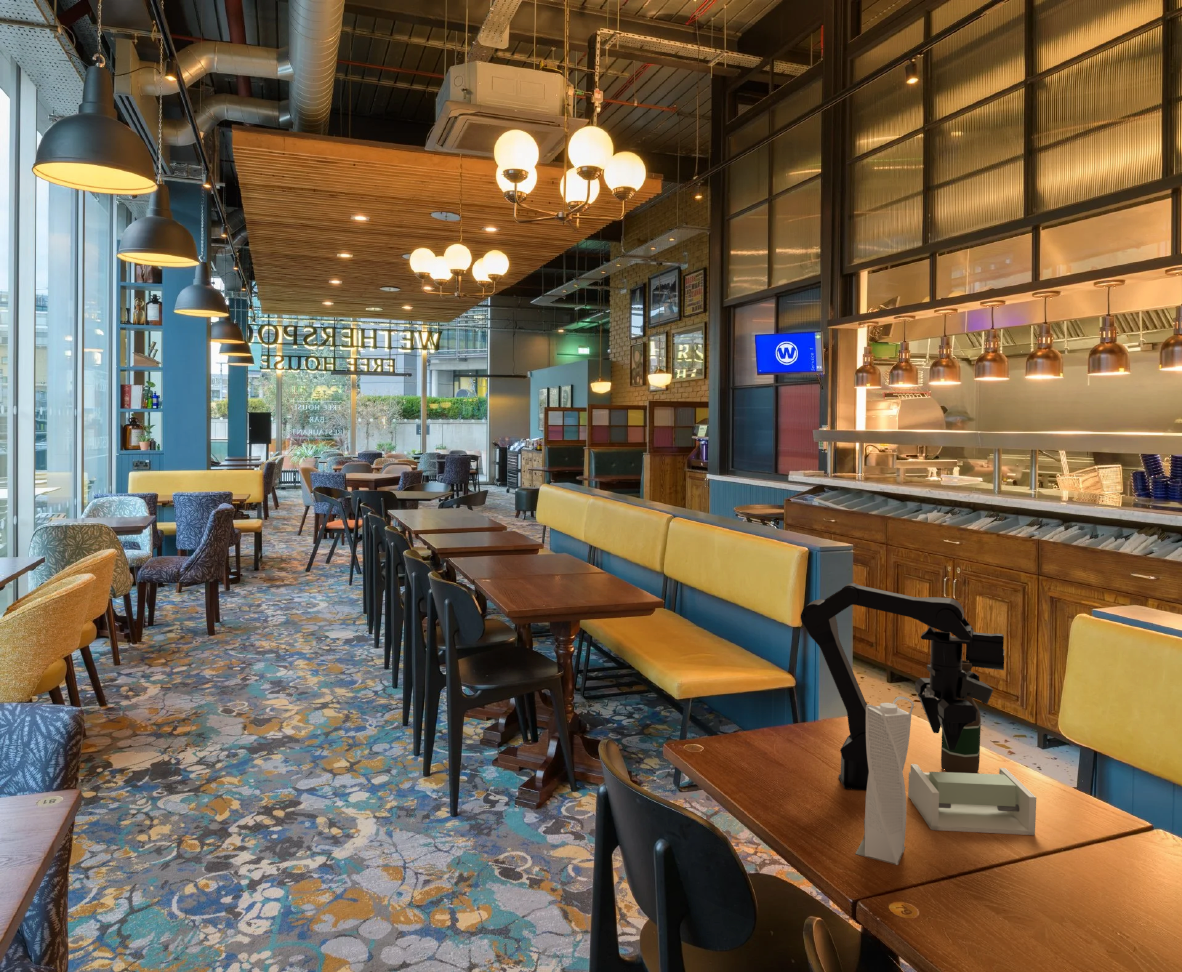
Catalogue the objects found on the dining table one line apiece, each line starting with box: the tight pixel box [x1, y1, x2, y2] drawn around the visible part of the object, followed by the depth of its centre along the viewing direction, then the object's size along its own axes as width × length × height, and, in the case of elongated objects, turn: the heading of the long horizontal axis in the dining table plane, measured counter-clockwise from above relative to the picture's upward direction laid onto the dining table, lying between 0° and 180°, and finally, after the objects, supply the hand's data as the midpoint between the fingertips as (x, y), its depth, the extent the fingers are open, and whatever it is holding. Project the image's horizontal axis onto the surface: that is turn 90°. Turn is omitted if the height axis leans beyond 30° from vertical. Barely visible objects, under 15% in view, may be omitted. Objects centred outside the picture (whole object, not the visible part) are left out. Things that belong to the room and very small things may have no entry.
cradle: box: [907, 763, 1037, 836], centre depth 155 cm, size 18×14×7 cm
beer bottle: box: [940, 659, 982, 773], centre depth 176 cm, size 8×8×24 cm
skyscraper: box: [855, 695, 915, 866], centre depth 140 cm, size 8×8×28 cm
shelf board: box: [928, 771, 1016, 806], centre depth 154 cm, size 14×5×4 cm, turn 85°
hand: (943, 741), depth 161 cm, fingers open, 9 cm apart
